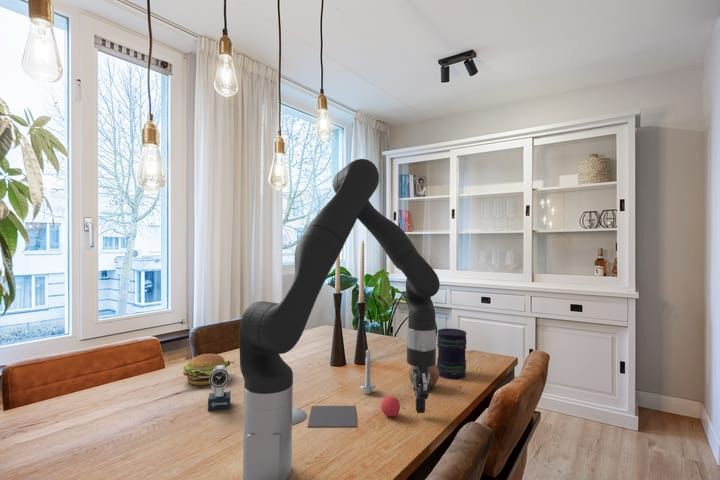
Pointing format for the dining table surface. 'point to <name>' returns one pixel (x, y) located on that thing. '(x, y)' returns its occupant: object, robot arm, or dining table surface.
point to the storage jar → (451, 353)
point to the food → (203, 368)
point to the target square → (332, 416)
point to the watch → (219, 389)
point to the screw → (367, 376)
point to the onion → (433, 375)
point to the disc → (297, 415)
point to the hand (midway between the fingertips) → (420, 411)
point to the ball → (390, 406)
